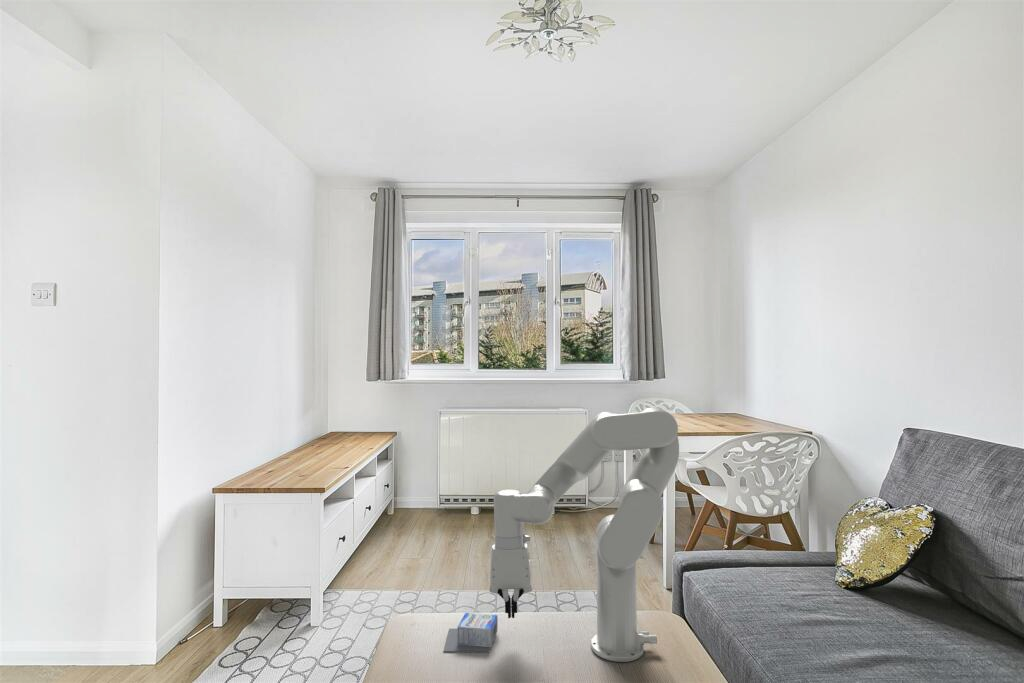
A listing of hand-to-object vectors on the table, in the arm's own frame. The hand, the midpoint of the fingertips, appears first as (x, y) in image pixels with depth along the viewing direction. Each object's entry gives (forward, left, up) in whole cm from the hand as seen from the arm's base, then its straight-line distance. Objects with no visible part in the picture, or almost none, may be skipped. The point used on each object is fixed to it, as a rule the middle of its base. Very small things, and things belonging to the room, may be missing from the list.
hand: (511, 615), depth 133 cm
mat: (+11, -1, -6) cm, 13 cm away
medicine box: (+4, 0, -4) cm, 6 cm away
